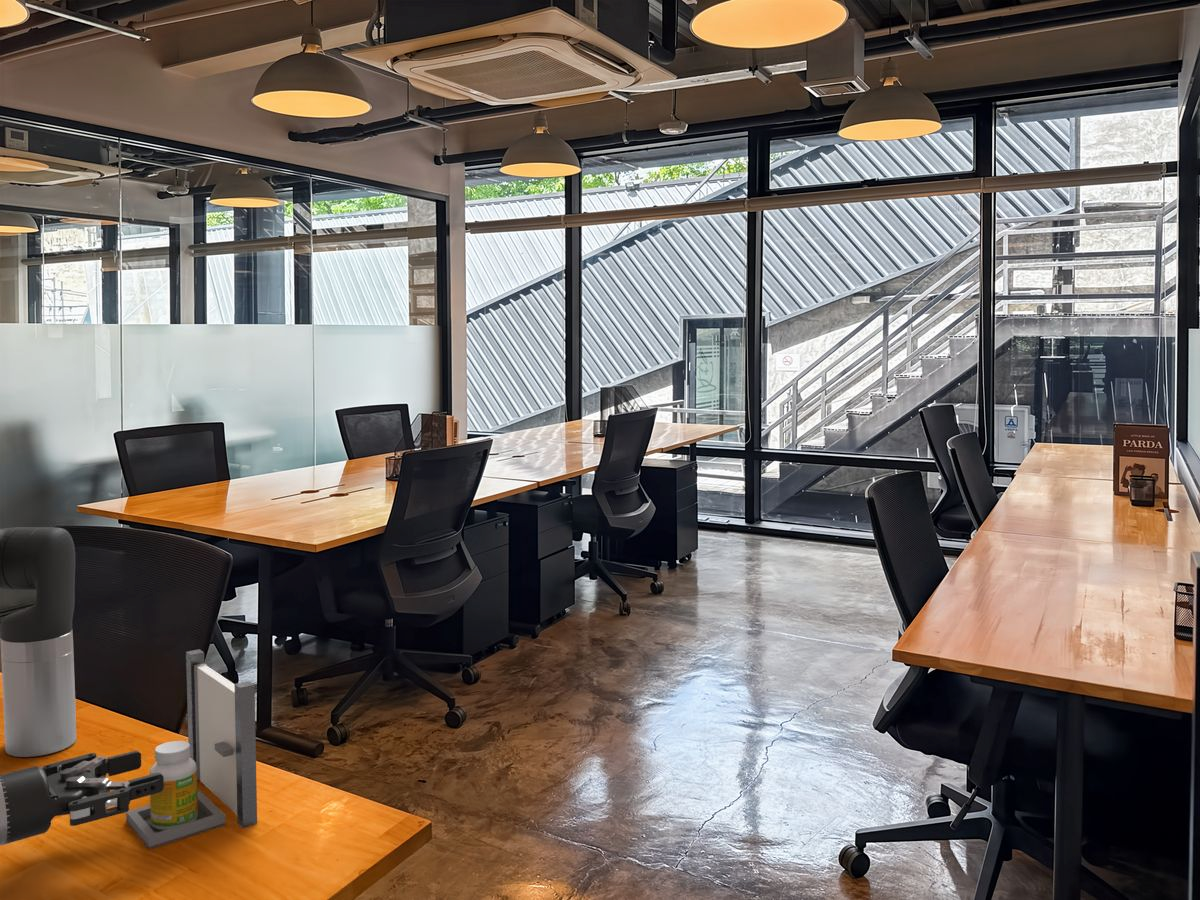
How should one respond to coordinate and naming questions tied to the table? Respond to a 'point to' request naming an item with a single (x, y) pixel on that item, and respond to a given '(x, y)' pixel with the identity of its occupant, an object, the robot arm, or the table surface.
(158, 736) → the table surface
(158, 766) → the supplement bottle
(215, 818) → the shallow tray
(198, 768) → the door
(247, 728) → the door frame
